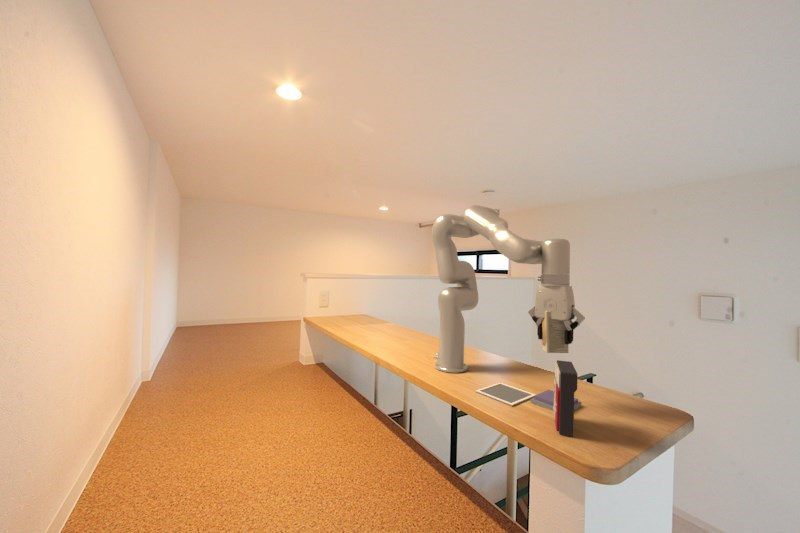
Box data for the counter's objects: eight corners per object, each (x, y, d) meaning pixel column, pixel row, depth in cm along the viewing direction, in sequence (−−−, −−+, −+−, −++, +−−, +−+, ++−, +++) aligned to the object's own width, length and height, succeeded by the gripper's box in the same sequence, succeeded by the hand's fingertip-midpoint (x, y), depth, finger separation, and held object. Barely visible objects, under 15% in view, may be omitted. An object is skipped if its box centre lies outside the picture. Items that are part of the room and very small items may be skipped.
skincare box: (562, 350, 97) (563, 309, 97) (568, 353, 93) (569, 311, 93) (540, 349, 98) (541, 308, 98) (545, 353, 93) (546, 310, 94)
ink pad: (530, 402, 95) (530, 395, 95) (547, 394, 101) (547, 388, 101) (565, 415, 87) (565, 407, 87) (581, 406, 93) (581, 399, 93)
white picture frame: (475, 392, 102) (475, 390, 102) (500, 383, 110) (500, 382, 110) (512, 406, 92) (512, 404, 92) (536, 396, 100) (536, 394, 100)
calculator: (552, 415, 87) (553, 359, 87) (570, 418, 85) (571, 361, 85) (555, 434, 77) (557, 371, 77) (576, 438, 75) (577, 373, 75)
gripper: (521, 280, 100) (520, 337, 100) (580, 282, 86) (580, 348, 86) (534, 280, 105) (533, 335, 104) (592, 281, 91) (592, 345, 91)
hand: (554, 340), depth 95 cm, fingers closed on skincare box, 7 cm apart
